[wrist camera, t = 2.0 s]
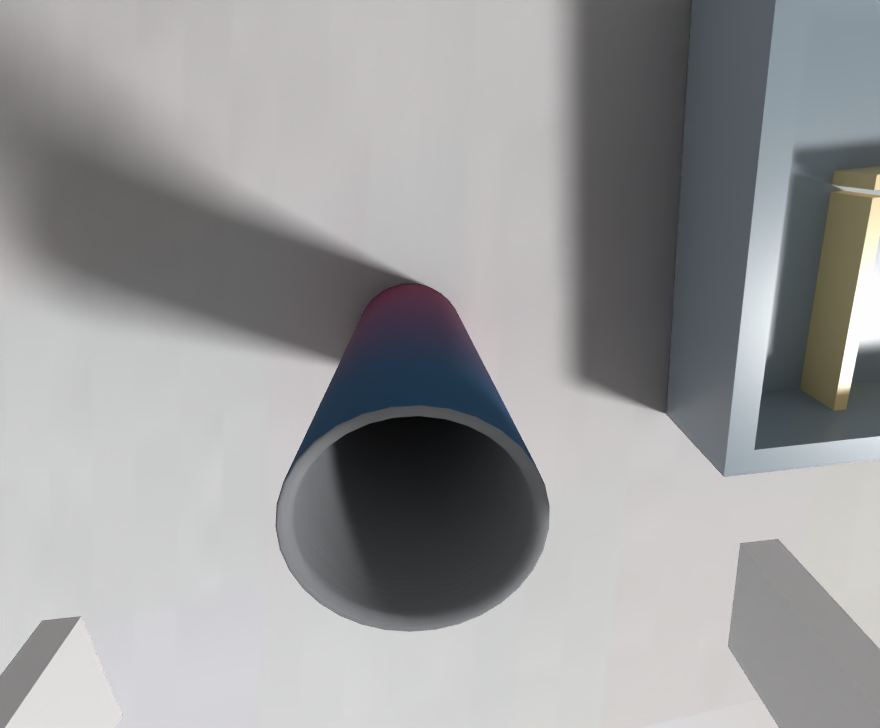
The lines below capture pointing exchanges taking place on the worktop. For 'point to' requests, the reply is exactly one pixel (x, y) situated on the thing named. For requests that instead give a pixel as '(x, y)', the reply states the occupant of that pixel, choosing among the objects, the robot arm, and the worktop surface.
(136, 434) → the worktop surface
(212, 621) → the worktop surface
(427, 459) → the cup
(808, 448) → the walled box
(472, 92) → the worktop surface
